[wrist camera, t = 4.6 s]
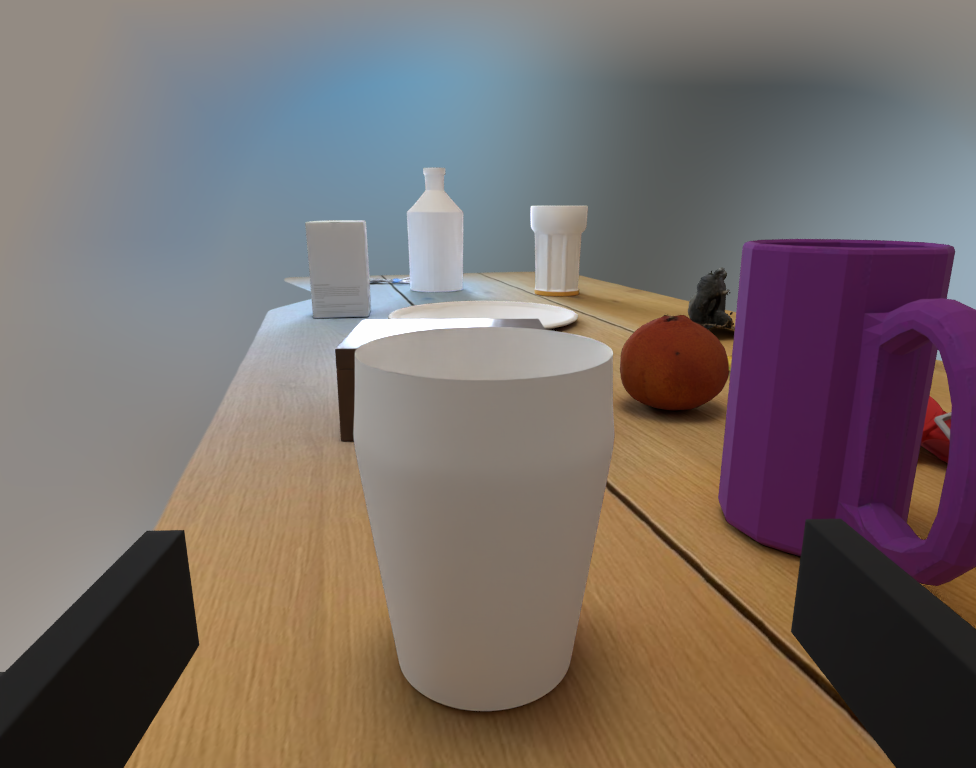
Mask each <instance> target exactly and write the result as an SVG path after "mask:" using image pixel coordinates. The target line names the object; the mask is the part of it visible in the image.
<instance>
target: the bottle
mask: <svg viewBox="0 0 976 768" xmlns="http://www.w3.org/2000/svg"><path fill="white" fill-rule="evenodd" d="M423 171H424V172H423V173H424V175H425V186H426V191H425V192H424V193H423V194H422V196H421V197H420V198H419V199H418V201H417V202H416V203H415V204H414V205H413V207H411V208H410V209H409V211H408V212H407V224H408V243H409V244H408V245H409V266H410V288H411V290H413V291H419V292H451V291H459V290H462V289H463V211H462V210H461V209H460V208H459V207H458V206H457V205H456V204H455V203H454V202H453V201H452V200H451V198H450V197H449V196H448V195H447V194H446V192H445V191H444V175H445V168H423Z"/></svg>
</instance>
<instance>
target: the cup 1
mask: <svg viewBox="0 0 976 768" xmlns="http://www.w3.org/2000/svg"><path fill="white" fill-rule="evenodd" d="M353 436H354V445H355V452H356V457H357V462H358V467H359V472H360V477H361V482H362V486H363V491H364V496H365V501H366V506H367V511H368V516H369V520H370V525H371V530H372V535H373V540H374V544H375V549H376V554H377V559H378V564H379V569H380V573H381V578H382V583H383V588H384V593H385V597H386V602H387V607H388V612H389V617H390V622H391V626H392V631H393V636H394V641H395V646H396V650H397V655H398V660H399V664H400V668H401V670H402V672H403V674H404V676H405V678H406V679H407V680H408V682H409V683H410V684H411V685H412V686H413V687H414V688H415V689H416V690H418V691H419V692H420V693H422V694H423V695H425V696H426V697H428V698H430V699H432V700H434V701H436V702H438V703H441V704H444V705H447V706H450V707H454V708H459V709H464V710H472V711H496V710H504V709H510V708H514V707H518V706H522V705H525V704H528V703H530V702H532V701H535V700H537V699H539V698H541V697H542V696H544V695H545V694H547V693H549V692H550V691H551V690H552V689H554V688H555V687H556V686H557V685H558V684H559V683H560V682H561V680H562V679H563V678H564V676H565V674H566V673H567V671H568V668H569V665H570V661H571V656H572V651H573V646H574V641H575V636H576V631H577V626H578V621H579V616H580V611H581V606H582V601H583V596H584V592H585V587H586V582H587V577H588V572H589V567H590V562H591V557H592V552H593V547H594V542H595V537H596V532H597V527H598V522H599V517H600V512H601V507H602V502H603V497H604V492H605V487H606V482H607V477H608V472H609V466H610V461H611V456H612V451H613V444H614V417H613V351H612V350H611V348H610V347H609V346H607V345H606V344H604V343H602V342H600V341H597V340H594V339H591V338H588V337H584V336H580V335H575V334H570V333H565V332H558V331H550V330H541V329H530V328H514V327H456V328H440V329H429V330H420V331H412V332H405V333H399V334H394V335H390V336H385V337H382V338H378V339H375V340H372V341H369V342H367V343H365V344H363V345H361V346H360V347H358V348H357V350H356V351H355V402H354V431H353Z"/></svg>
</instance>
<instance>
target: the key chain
mask: <svg viewBox="0 0 976 768" xmlns="http://www.w3.org/2000/svg"><path fill="white" fill-rule="evenodd" d="M406 279H410V278H402V279H393V280H392V279H391V280H383V279H369V280H370V282H393V283H398V282H399V283H410V281H402V280H406Z"/></svg>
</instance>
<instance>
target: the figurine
mask: <svg viewBox="0 0 976 768" xmlns="http://www.w3.org/2000/svg"><path fill="white" fill-rule="evenodd" d="M726 276H727V273H726V271H725V270H724V269H723V268H720V269H717V270H716V271H715V272H714V274H712V271H711V273H710V274H708V275H706V276H704V277H702V278H701V280H700V282H699V283H698V285H697V290H698V291H697V292H696V293H695V295H693V296H692V298H691V300H690V302H689V309H688V315H689V317H690V319H691V320H692V321H693V322H695V323H697V324H699V325H701V326H703V327H704V328H706V329H707V330H708V329H709V328H711V327H714V328H715V327H717V328H719V327H720V328H724V329H726V328H727V329H732V330H735V327H733V326H732V325H734V323H733V321H732V318H730V316H728V314H726V313H725V300H726V294H727V293H728V291H729V290H726V285H725V283H724V281H723V280H724V279H725V278H726ZM729 293H730V292H729ZM727 295H728V294H727ZM732 313H733V312H731V313H730V315H731V314H732ZM667 315H668V314H667ZM667 315H664V316H667ZM720 328H719V329H720Z"/></svg>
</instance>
